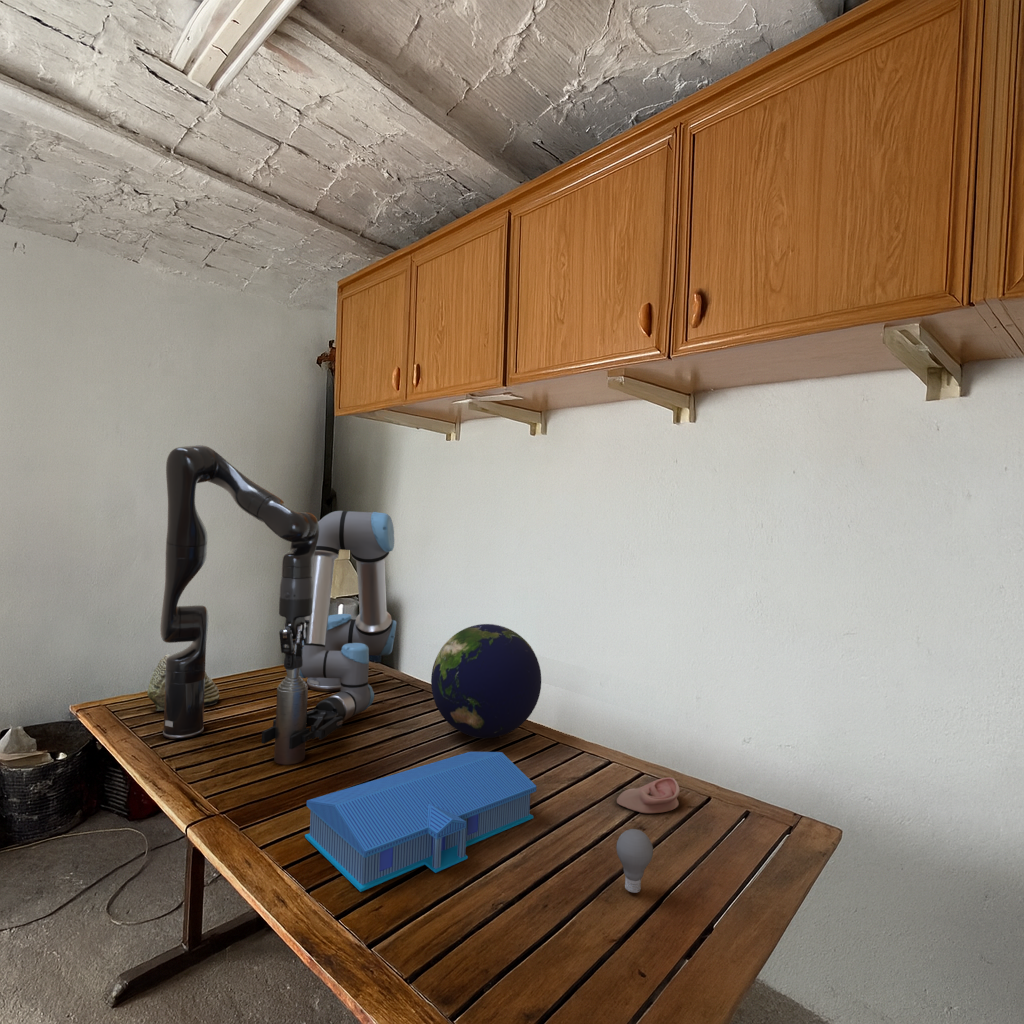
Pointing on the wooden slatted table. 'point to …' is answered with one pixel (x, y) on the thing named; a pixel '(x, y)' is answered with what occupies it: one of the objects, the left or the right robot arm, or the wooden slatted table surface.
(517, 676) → the globe
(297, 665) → the cap
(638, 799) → the anatomical model
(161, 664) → the fossil
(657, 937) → the wooden slatted table surface
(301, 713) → the bottle
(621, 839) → the light bulb
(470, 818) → the model building
